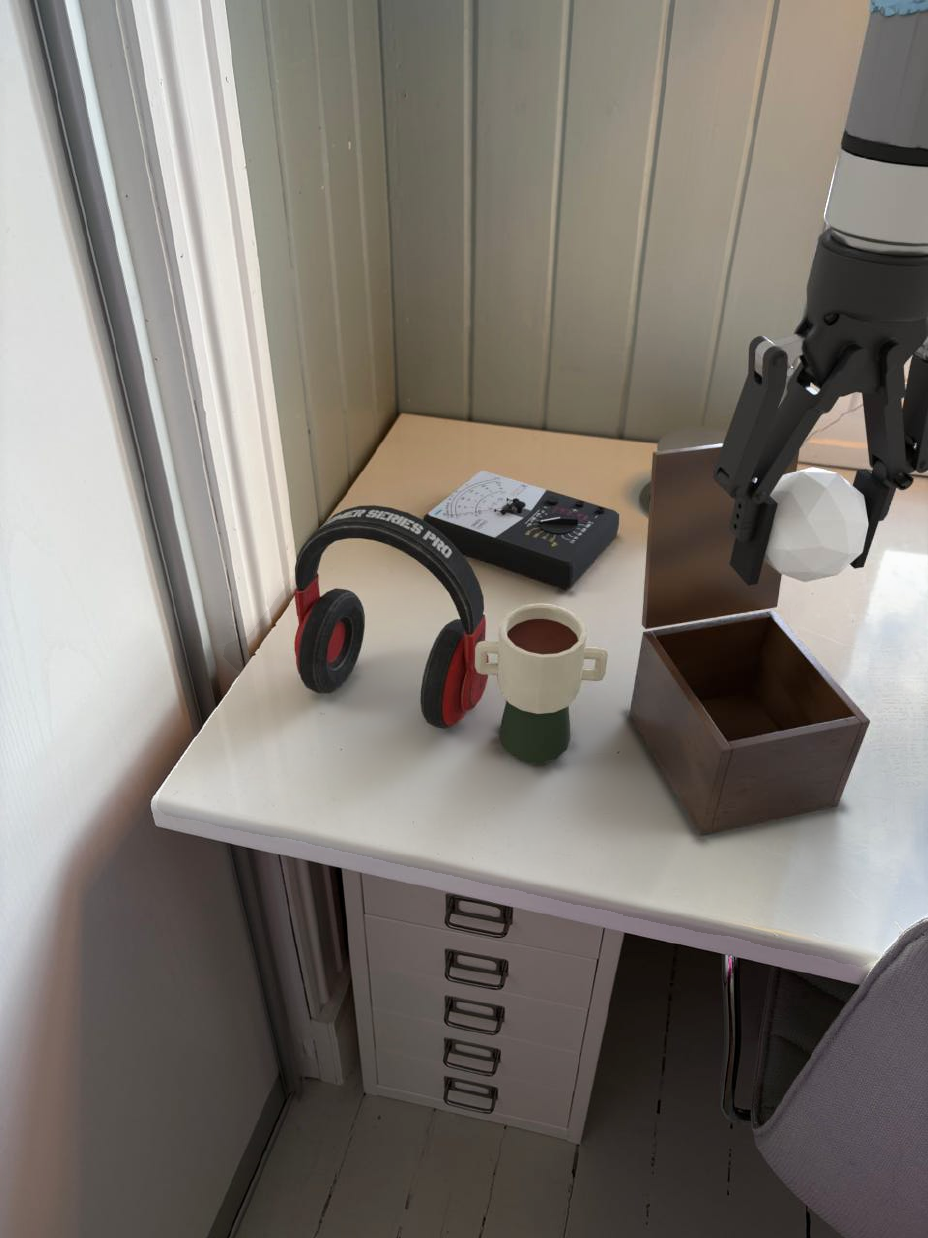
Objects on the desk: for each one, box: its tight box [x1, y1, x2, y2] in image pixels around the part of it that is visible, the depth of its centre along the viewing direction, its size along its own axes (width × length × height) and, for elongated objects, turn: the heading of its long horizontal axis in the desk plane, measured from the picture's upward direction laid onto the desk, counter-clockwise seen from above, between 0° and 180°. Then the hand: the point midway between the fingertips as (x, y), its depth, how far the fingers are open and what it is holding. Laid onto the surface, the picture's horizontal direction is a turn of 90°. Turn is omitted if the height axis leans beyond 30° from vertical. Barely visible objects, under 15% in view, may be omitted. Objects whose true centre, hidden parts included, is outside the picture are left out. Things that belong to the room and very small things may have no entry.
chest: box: [629, 610, 871, 836], centre depth 79 cm, size 15×13×10 cm
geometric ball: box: [764, 467, 869, 583], centre depth 64 cm, size 8×8×8 cm
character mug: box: [475, 602, 609, 765], centre depth 79 cm, size 11×7×13 cm, turn 86°
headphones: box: [293, 504, 490, 730], centre depth 81 cm, size 18×10×20 cm, turn 68°
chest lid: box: [641, 442, 801, 630], centre depth 77 cm, size 16×13×1 cm
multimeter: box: [422, 470, 620, 590], centre depth 107 cm, size 13×19×5 cm
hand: (796, 565), depth 67 cm, fingers closed on geometric ball, 8 cm apart
